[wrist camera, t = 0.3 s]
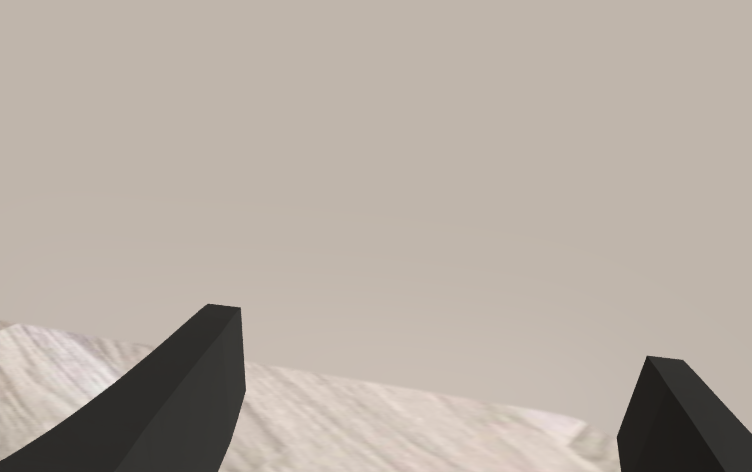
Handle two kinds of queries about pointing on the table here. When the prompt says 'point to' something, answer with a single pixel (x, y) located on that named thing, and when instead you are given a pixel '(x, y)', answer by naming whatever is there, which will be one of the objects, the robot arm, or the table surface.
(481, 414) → the table surface
